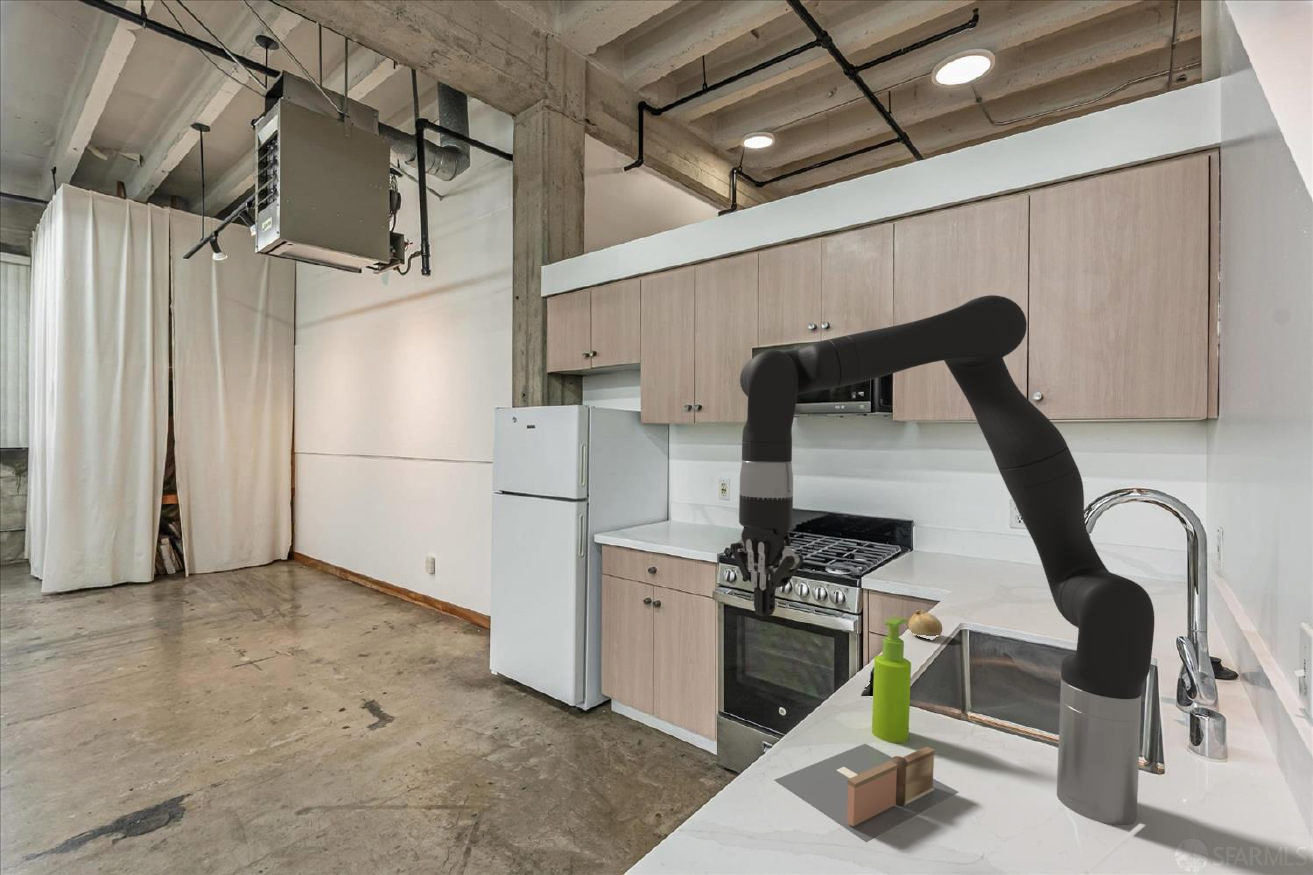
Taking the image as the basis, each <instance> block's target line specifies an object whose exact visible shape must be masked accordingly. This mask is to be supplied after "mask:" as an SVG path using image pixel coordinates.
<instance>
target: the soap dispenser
mask: <svg viewBox="0 0 1313 875" xmlns="http://www.w3.org/2000/svg"><path fill="white" fill-rule="evenodd" d="M905 623H909V619H906V618H902V617H897V616H892V617H891V618H888V620H885V626H888V631H887V632H888V634H887V636H885V637H883V639H882V654H877V655H876V656H875V657H874V660H873V661H874V662H873V667H874V685H873V699H872V716H871V718H872V719H871V720H872V721H871V722H872V723H871V733H872V735H873V736H875V737H876V738H878V739H879V740H881V741H883V742H886V743H887V742H888V743H894V744H903V743H905V742H907V741H909V733H910V709H911V708H910V706H911V705H910V703H911V702H910V701H911V679H912V678H911V677H912V676H911V675H912V674H911V673H912V672H911V671H912V662H911V661H910V660H909V659H907V658H904V648H905V647H904V645H905V641H904V640H903V639H902V638H900V626H901V625H903V624H905Z"/></svg>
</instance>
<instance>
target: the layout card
mask: <svg viewBox="0 0 1313 875" xmlns="http://www.w3.org/2000/svg"><path fill="white" fill-rule="evenodd" d="M888 761H891V762H893V756H890V755H888V754H886V753H885V752H882V751H881V750H879V749H878V748H875V747H873V746H872V745H871V746H870V745H869V744H867V743H863V744H860V745H858V746H856V747H852V748H851V749H848V750H846V751H843V752H841V753H838V754H836V755H835V754H834V755H832V756H830V757H828V758H825V759H823V760H820V761H818V762H816V763H813V764H810V765H807V766H806V767H803V768H800V769H798V770H796V771H793V772H791V773H788V774H786V775H784V776H781V777H777V778H776V779H773V781H775V782H776V783H777V784H779V785H780V786H782V787H783V788H784V789H786V790H788V791H789V792H791V793H793V794H794V795H795V796H796V797H798V798H800V799H801V800H802V801H804V802H805V803H807V804H808V805H810V806H812V807H813V808H815V809H816V810H817V811H819V812H821V813H822V814H824V815H825V816H826V817H828V818H829V819H831V820H832V821H834V822H835V823H837V824H839V825H840V826H841V827H842V828H844V829H845V830H847V831H849V832H850V833H852V834H853V835H855V836H856V837H858V838H859V839H860V840H862V841H864V842H865V843H867V842H869V841H871V840H872V839H875V838H876V837H878V836H880V835H882V834H883V833H885V832H887V831H889V830H891V829H893V828H894V827H896V826H898V825H900V824H902V823H905V822H906V821H908V820H909V819H911V818H913V817H914V816H917V815H918V814H920V813H922V812H924V811H926V810H928V809H929V808H931V807H934V806H935V805H937V804H939V803H940V802H941V803H942V802H943V801H944V800H946V799H949V797H952V796H954V795H956V794H957V793H959V791H958V790H956V789H954V788H952V787H950V786H948V785H946V784H945V783H943V782H940V781H938V780H936V779H935V778H933V788H931V789H929V790H927V791H925V792H923V793H921V794H919V795H917V796H915V797H913V798H911V799H910V800H908V801H906V802H905V805H904V806H897V805H894V806H893V807H891V808H889V809H887V810H885V811H883V812H881V813H879V814H877V815H875V816H873V817H871V818H869V819H867V820H865V821H863V822H861V823H859V824H857V825H855V826H852V825H850V824H849V823H847V803H848V779H850V778H852V777H854V776H856V775H859V774H861V773H863V772H866V771H868V770H870V769H872V768H875V767H877V766H879V765H881V764H884V763H886V762H888Z"/></svg>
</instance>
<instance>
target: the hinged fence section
mask: <svg viewBox="0 0 1313 875" xmlns="http://www.w3.org/2000/svg"><path fill="white" fill-rule="evenodd" d="M897 769H898V765H897V764H895V763H893V762H891V761H888V762H886V763H884V764H881V765H879V766H877V767H875V768H872V769H870V770H868V771H866V772H863V773H861V774H859V775H856V776H854V777H852V778H850V779H848V803H847V823H849V824H850V825H852V826H855V825H857V824H859V823H861V822H863V821H865V820H867V819H869V818H871V817H873V816H875V815H877V814H879V813H881V812H883V811H885V810H887V809H889V808H891V807H893V806H894V805H896V779H897Z"/></svg>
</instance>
